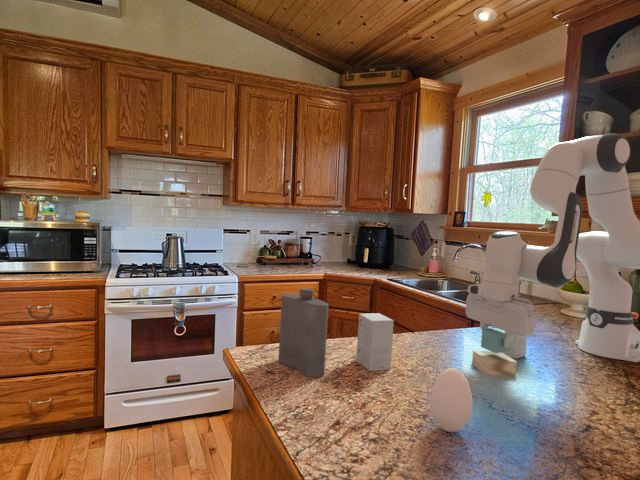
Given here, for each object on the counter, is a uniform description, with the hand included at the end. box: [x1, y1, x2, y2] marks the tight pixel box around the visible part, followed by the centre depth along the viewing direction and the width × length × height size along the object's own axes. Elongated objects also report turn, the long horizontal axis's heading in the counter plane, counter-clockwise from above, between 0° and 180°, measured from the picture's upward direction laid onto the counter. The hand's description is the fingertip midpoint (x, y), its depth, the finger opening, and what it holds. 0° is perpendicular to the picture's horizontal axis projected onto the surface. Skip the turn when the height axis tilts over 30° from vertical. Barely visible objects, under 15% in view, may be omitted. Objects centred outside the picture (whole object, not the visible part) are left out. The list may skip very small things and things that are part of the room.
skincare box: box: [491, 326, 527, 360], centre depth 122 cm, size 8×6×15 cm
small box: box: [355, 312, 395, 372], centre depth 106 cm, size 8×6×13 cm
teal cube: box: [480, 327, 510, 353], centre depth 108 cm, size 5×5×5 cm
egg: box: [429, 367, 473, 433], centre depth 75 cm, size 7×7×12 cm
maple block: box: [471, 350, 518, 377], centre depth 109 cm, size 8×8×4 cm
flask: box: [277, 287, 329, 379], centre depth 101 cm, size 15×6×20 cm, turn 44°
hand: (495, 342), depth 108 cm, fingers closed on teal cube, 5 cm apart
